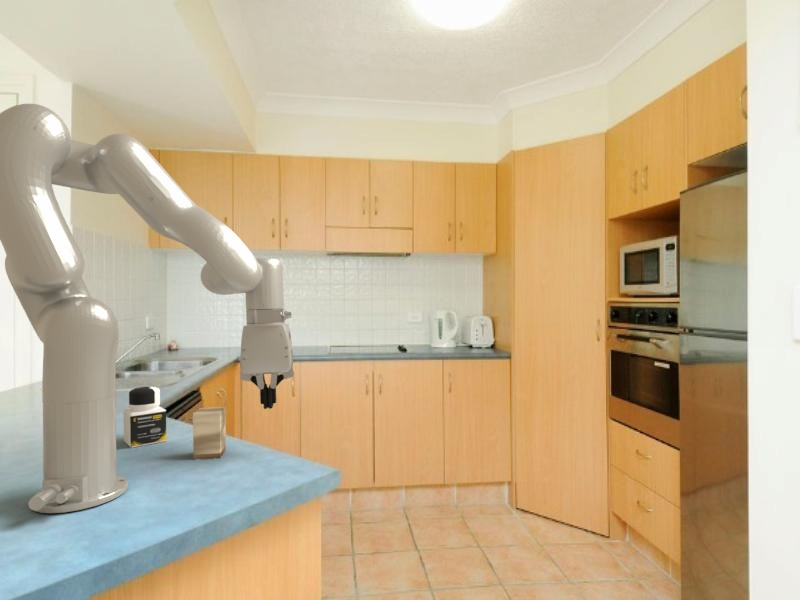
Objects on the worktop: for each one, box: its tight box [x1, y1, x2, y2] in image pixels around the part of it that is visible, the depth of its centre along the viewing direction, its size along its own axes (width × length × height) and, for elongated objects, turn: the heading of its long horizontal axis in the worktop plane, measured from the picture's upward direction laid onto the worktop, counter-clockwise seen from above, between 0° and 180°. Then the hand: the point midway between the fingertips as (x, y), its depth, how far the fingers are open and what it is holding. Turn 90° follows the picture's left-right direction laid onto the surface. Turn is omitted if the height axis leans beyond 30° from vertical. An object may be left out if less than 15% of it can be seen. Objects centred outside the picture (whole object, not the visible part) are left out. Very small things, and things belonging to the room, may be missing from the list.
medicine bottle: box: [123, 386, 167, 449], centre depth 104 cm, size 7×7×12 cm
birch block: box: [192, 406, 227, 461], centre depth 93 cm, size 5×5×9 cm
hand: (268, 407), depth 95 cm, fingers closed
